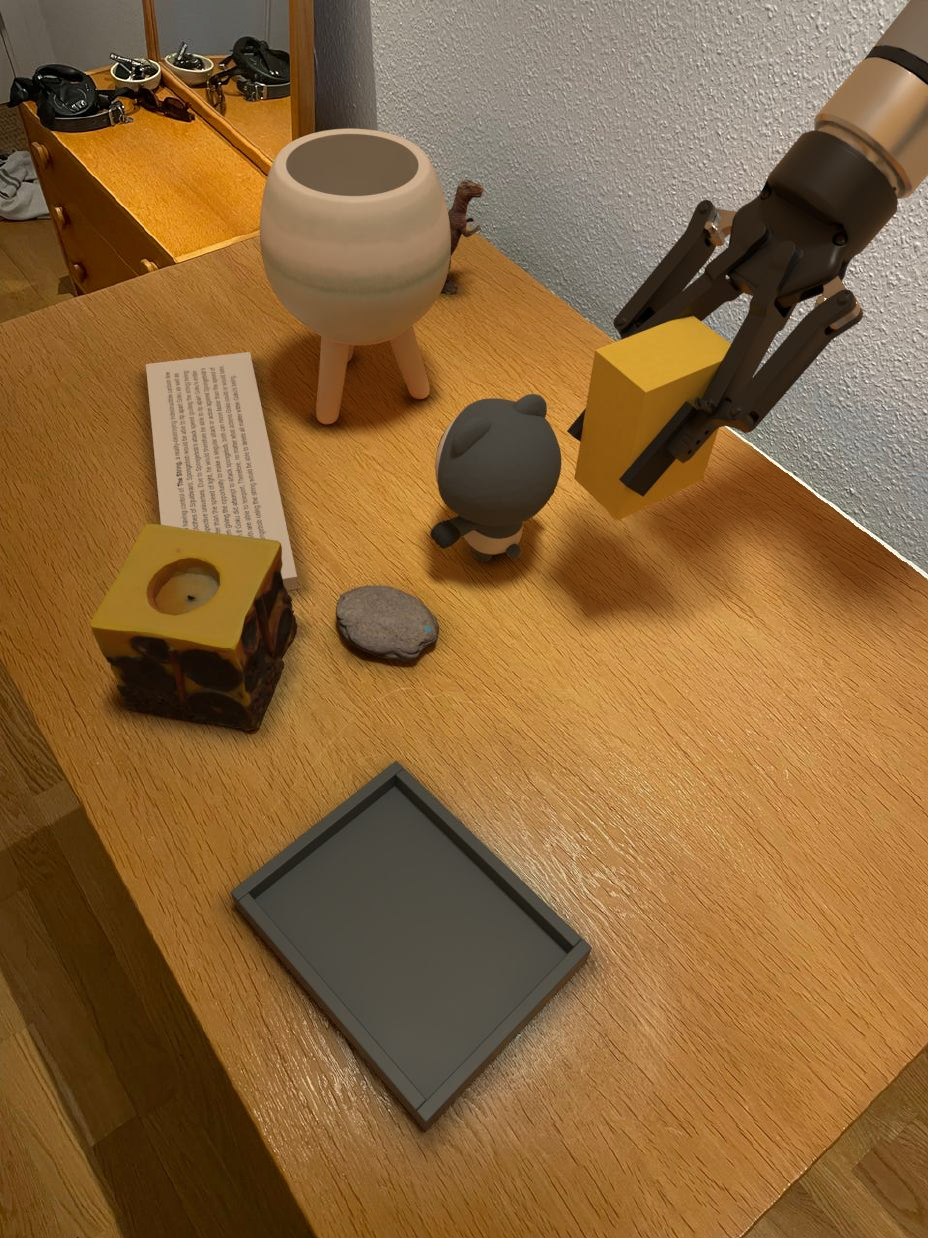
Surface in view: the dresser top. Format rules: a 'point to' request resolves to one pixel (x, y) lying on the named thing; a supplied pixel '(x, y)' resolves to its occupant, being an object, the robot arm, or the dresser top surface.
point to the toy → (495, 473)
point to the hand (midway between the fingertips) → (605, 463)
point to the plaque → (215, 451)
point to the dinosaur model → (461, 221)
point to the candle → (197, 625)
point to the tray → (411, 938)
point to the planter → (356, 247)
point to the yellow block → (644, 409)
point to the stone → (386, 622)
